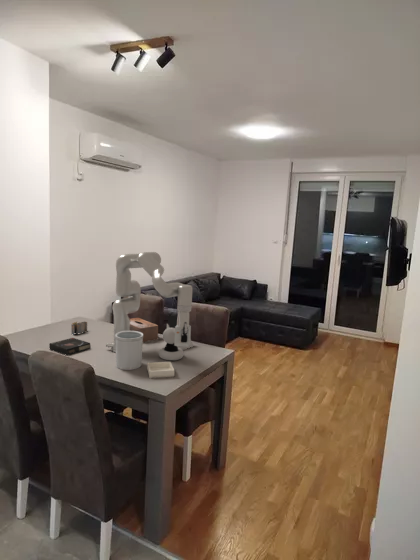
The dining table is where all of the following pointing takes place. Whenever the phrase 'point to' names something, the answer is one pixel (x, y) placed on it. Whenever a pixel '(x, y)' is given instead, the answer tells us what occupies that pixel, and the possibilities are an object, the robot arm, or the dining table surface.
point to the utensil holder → (129, 349)
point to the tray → (160, 369)
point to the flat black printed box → (69, 346)
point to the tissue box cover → (144, 329)
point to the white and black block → (186, 347)
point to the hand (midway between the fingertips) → (182, 339)
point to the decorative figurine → (170, 346)
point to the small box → (178, 337)
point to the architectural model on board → (79, 327)
